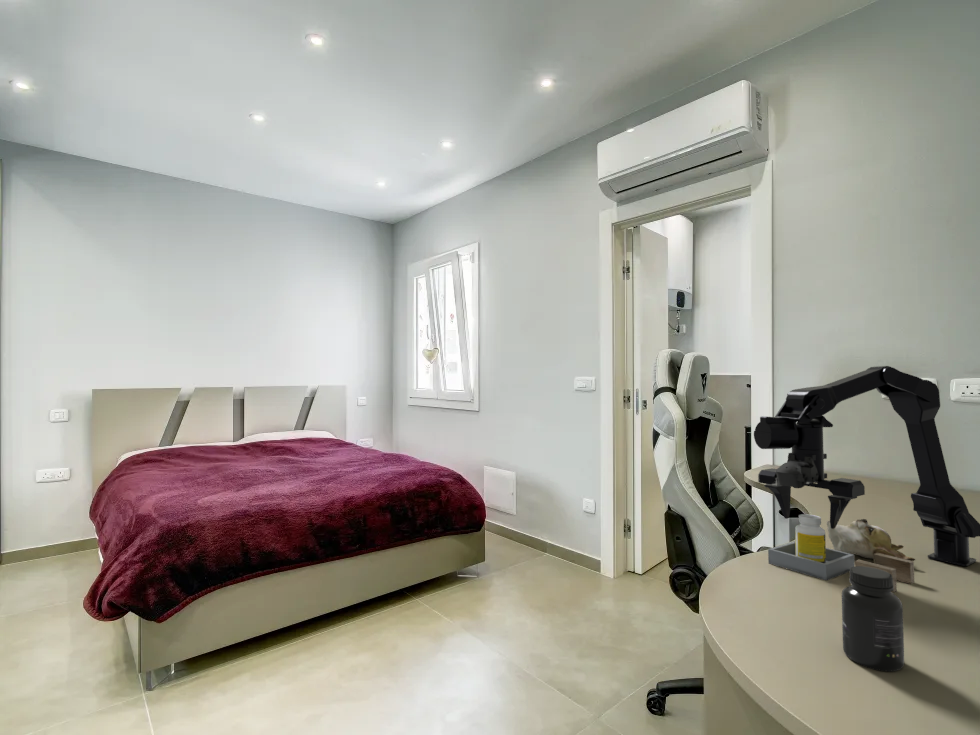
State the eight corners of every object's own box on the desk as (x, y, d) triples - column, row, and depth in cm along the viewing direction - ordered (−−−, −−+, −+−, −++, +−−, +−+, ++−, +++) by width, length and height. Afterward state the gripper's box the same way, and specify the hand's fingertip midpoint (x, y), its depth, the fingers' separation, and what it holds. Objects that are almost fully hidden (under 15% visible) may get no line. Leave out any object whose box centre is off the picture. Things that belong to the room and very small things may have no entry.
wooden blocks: (877, 572, 103) (877, 552, 103) (914, 582, 98) (913, 561, 98) (855, 582, 98) (855, 561, 98) (892, 592, 93) (892, 570, 93)
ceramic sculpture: (824, 508, 121) (903, 519, 114) (822, 544, 121) (901, 558, 114) (830, 519, 111) (917, 532, 104) (828, 558, 111) (915, 574, 104)
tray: (797, 554, 114) (796, 540, 115) (854, 569, 105) (854, 554, 105) (768, 563, 109) (768, 549, 109) (826, 580, 99) (826, 564, 99)
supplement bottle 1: (831, 568, 103) (829, 520, 104) (801, 566, 105) (800, 518, 105) (819, 560, 109) (818, 513, 109) (791, 558, 110) (790, 512, 110)
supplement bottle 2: (831, 648, 73) (828, 563, 74) (875, 645, 74) (872, 562, 74) (870, 674, 67) (867, 581, 67) (918, 672, 67) (915, 580, 68)
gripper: (742, 446, 111) (744, 518, 111) (837, 456, 95) (839, 540, 95) (771, 443, 117) (773, 512, 117) (864, 452, 101) (867, 531, 101)
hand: (809, 523), depth 107 cm, fingers open, 9 cm apart
